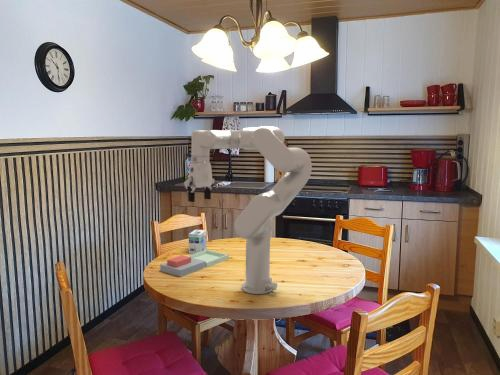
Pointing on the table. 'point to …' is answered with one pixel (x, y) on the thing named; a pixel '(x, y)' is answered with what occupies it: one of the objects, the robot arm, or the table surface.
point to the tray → (210, 257)
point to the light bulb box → (197, 241)
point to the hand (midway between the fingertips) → (199, 200)
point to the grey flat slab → (184, 268)
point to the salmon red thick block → (179, 261)
